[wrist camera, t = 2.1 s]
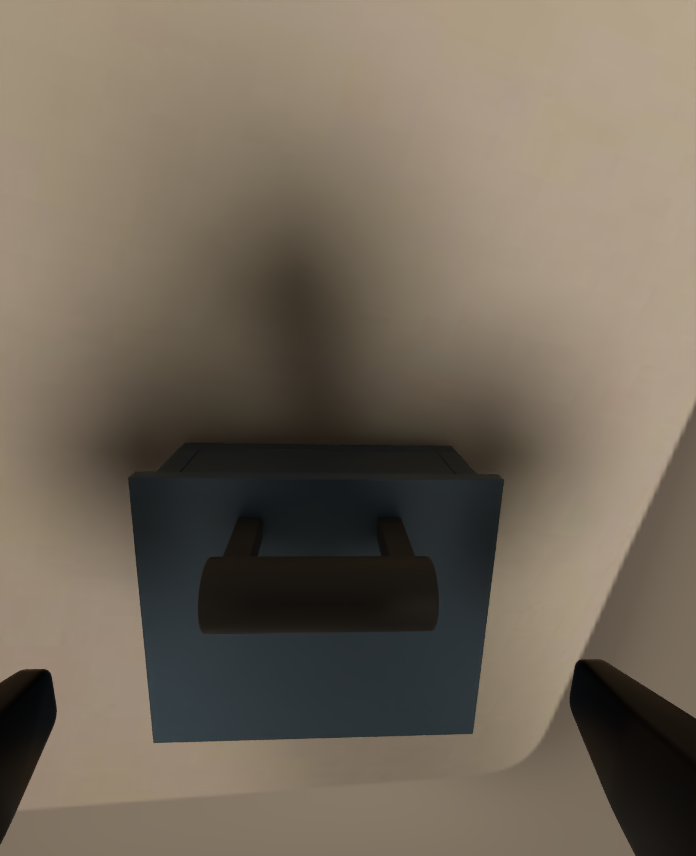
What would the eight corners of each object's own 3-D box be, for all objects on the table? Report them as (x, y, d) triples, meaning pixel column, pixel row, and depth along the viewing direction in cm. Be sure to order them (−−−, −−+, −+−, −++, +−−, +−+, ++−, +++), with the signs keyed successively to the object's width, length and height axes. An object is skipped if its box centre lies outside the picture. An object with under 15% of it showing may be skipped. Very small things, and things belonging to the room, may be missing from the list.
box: (184, 442, 18) (136, 489, 13) (452, 445, 19) (495, 491, 14) (195, 631, 20) (158, 728, 16) (435, 628, 21) (468, 720, 16)
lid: (134, 470, 13) (43, 552, 9) (498, 473, 14) (579, 550, 10) (158, 729, 15) (95, 895, 11) (468, 721, 16) (523, 874, 12)
